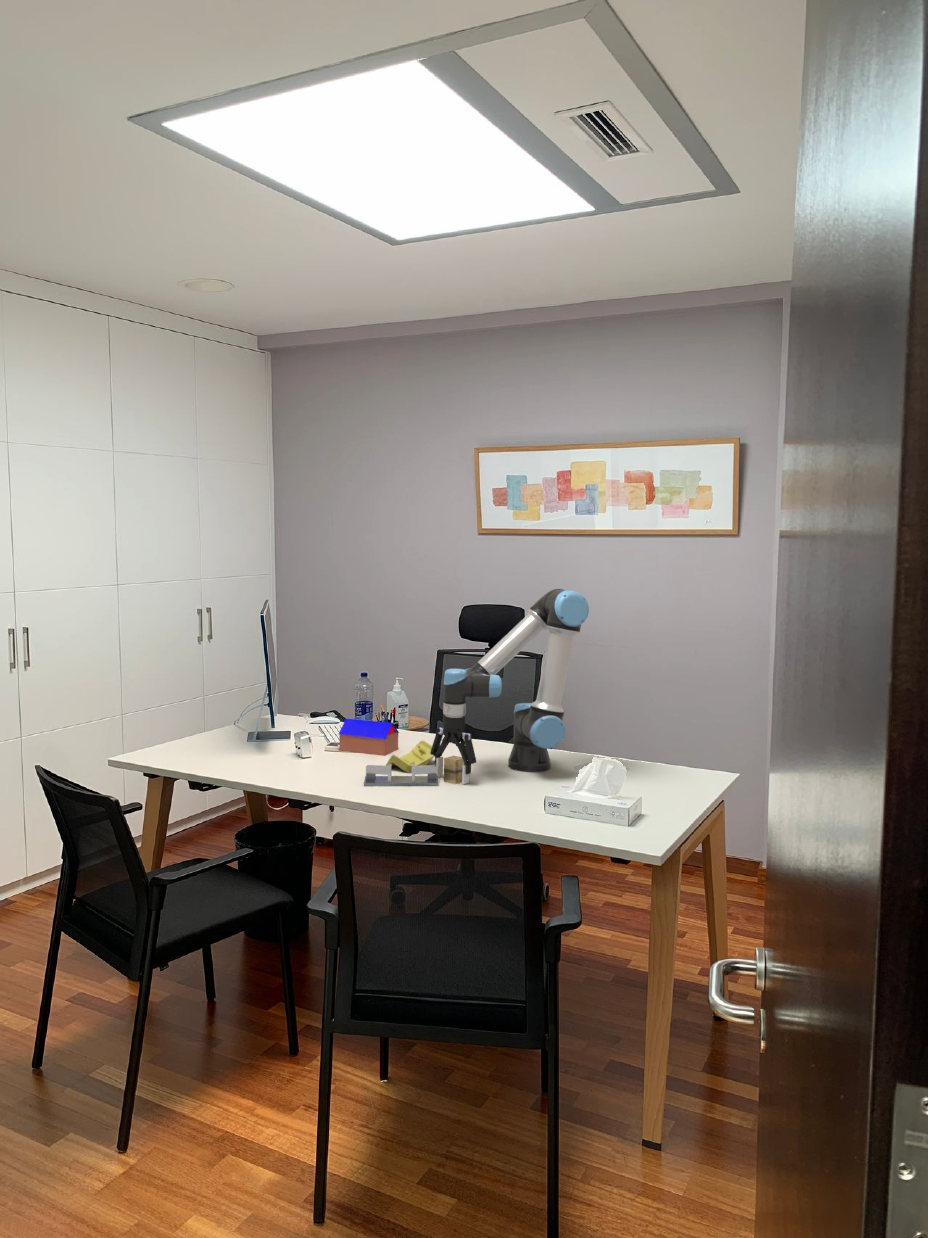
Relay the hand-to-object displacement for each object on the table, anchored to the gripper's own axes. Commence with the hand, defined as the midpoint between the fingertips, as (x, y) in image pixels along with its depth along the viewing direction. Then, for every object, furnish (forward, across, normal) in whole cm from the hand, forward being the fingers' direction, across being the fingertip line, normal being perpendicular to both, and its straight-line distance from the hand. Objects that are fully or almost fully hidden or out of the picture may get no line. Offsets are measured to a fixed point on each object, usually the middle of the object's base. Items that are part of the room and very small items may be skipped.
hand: (452, 779), depth 306 cm
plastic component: (+1, -23, +6) cm, 24 cm away
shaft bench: (+1, -11, -13) cm, 17 cm away
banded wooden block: (0, +1, 0) cm, 1 cm away
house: (+2, -53, +13) cm, 54 cm away
